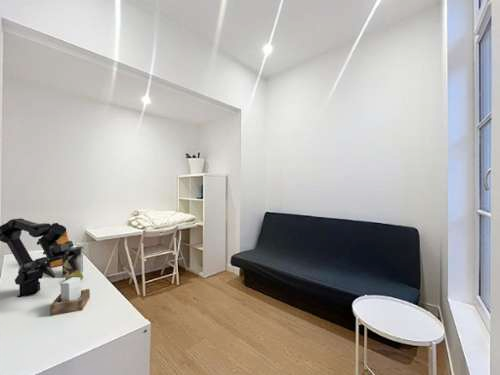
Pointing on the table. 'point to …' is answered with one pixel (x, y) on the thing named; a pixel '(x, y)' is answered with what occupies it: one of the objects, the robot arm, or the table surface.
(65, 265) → the coffee box
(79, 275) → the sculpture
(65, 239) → the coffee package
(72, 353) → the table surface
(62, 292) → the skincare box
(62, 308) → the walnut socket block
